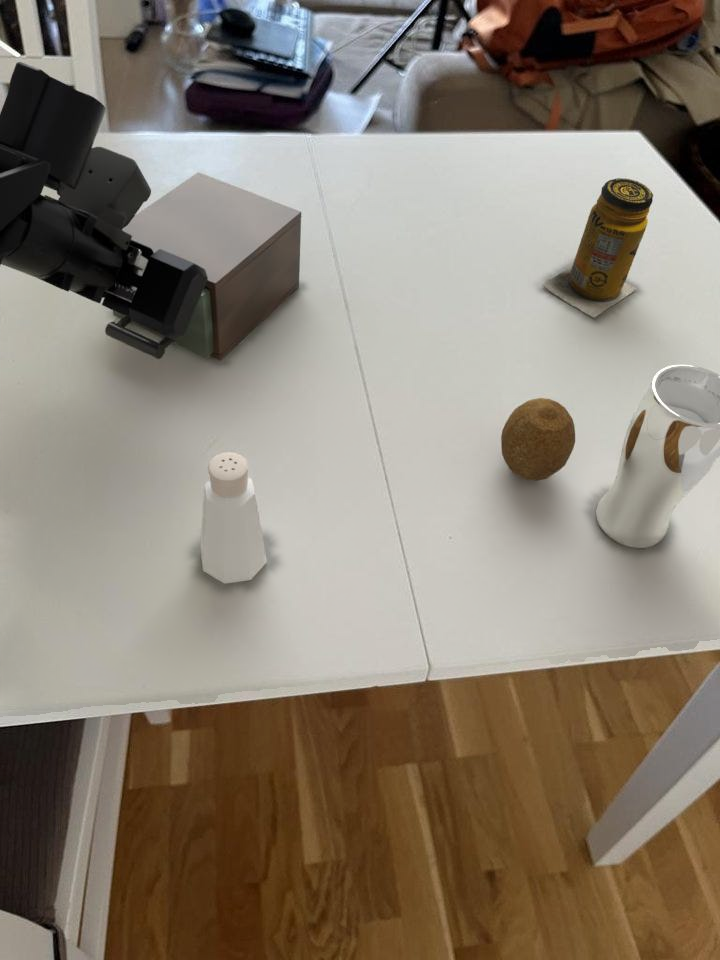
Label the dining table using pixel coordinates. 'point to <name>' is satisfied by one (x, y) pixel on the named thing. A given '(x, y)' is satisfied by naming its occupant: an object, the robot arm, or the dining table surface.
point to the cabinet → (228, 250)
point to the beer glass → (663, 454)
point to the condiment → (606, 248)
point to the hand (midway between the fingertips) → (151, 288)
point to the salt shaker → (231, 522)
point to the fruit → (538, 439)
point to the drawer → (194, 339)
